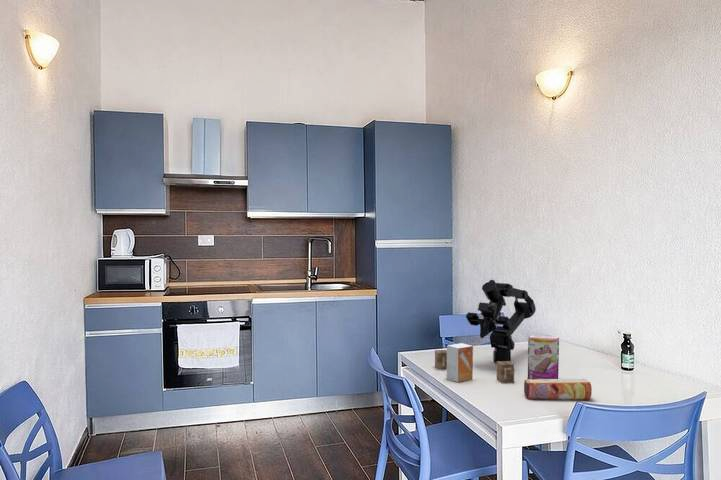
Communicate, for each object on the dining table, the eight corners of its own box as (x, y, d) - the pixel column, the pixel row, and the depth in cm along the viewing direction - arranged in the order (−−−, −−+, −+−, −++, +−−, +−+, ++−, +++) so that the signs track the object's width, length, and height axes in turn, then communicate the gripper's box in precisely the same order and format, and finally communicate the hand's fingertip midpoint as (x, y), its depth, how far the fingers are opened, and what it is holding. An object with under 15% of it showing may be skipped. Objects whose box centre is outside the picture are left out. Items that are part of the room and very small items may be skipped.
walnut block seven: (509, 379, 204) (509, 361, 203) (514, 383, 198) (514, 364, 198) (496, 379, 203) (496, 361, 203) (501, 383, 198) (501, 364, 198)
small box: (458, 382, 199) (458, 348, 198) (446, 379, 204) (446, 345, 204) (473, 379, 203) (473, 345, 203) (461, 375, 208) (461, 342, 208)
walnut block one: (446, 366, 222) (446, 349, 222) (449, 369, 217) (449, 352, 217) (434, 366, 222) (434, 350, 222) (437, 370, 217) (437, 353, 217)
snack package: (527, 401, 178) (527, 381, 178) (523, 394, 185) (523, 375, 185) (592, 402, 177) (592, 382, 177) (585, 396, 184) (585, 376, 183)
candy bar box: (527, 380, 202) (527, 337, 202) (527, 376, 207) (528, 334, 207) (558, 383, 199) (559, 339, 198) (558, 379, 203) (558, 336, 203)
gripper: (468, 293, 225) (453, 322, 217) (509, 297, 213) (495, 328, 205) (477, 309, 231) (464, 338, 223) (517, 314, 219) (505, 345, 211)
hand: (481, 337), depth 215 cm, fingers closed
